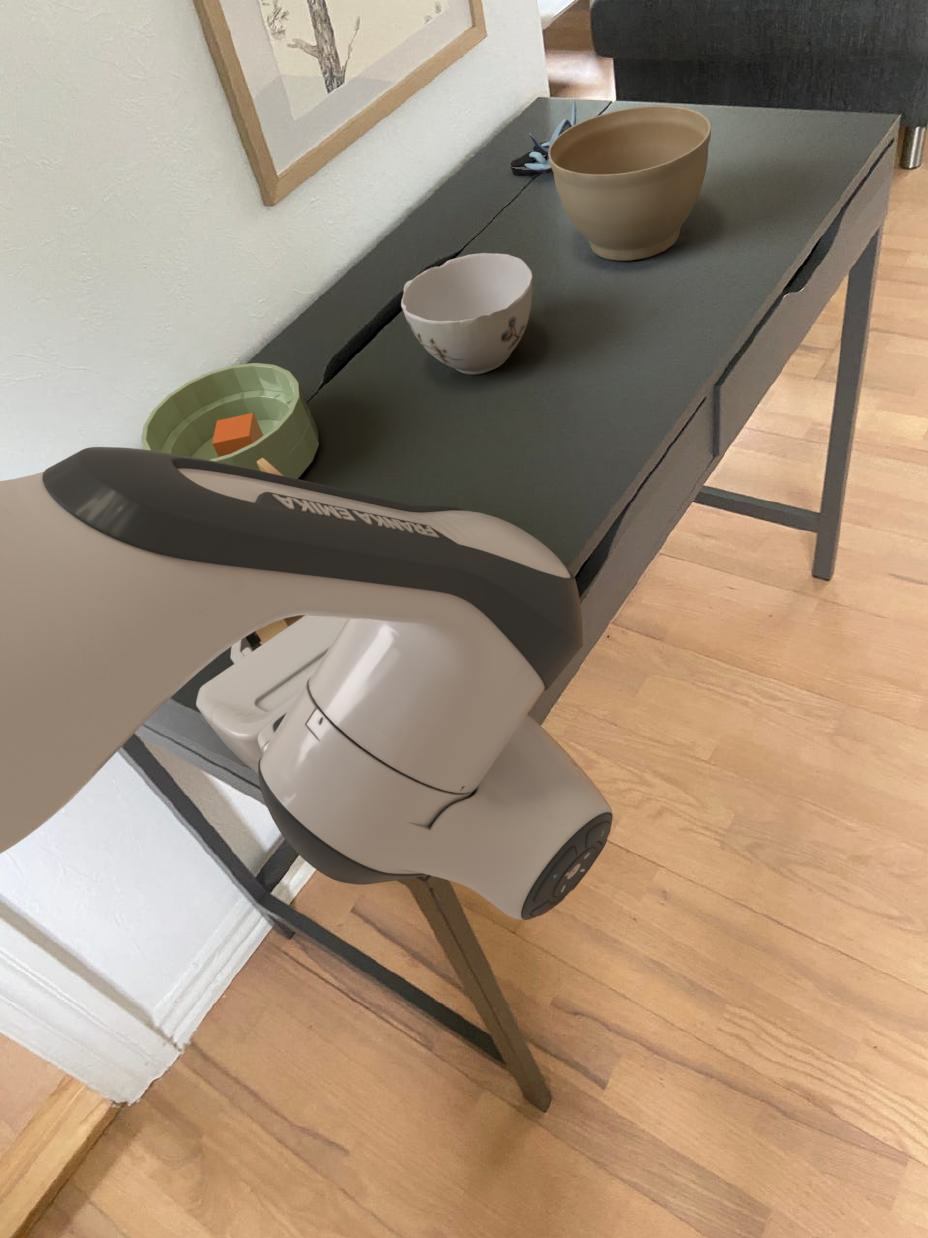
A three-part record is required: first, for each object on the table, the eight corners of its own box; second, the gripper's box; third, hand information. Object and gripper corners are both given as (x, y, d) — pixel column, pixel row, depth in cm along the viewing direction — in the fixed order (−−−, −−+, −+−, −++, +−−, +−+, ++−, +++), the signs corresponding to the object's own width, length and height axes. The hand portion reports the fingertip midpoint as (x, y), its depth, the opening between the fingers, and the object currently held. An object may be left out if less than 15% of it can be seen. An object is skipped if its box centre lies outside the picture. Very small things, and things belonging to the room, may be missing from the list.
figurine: (587, 194, 112) (567, 136, 106) (510, 194, 119) (487, 139, 113) (623, 143, 115) (605, 83, 109) (546, 146, 122) (525, 90, 116)
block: (227, 473, 86) (263, 466, 86) (211, 443, 84) (249, 435, 83) (231, 450, 89) (267, 442, 88) (216, 420, 86) (253, 412, 86)
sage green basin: (140, 502, 87) (109, 452, 83) (230, 406, 95) (206, 356, 91) (263, 528, 80) (236, 476, 76) (348, 423, 88) (329, 370, 84)
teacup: (570, 338, 90) (559, 262, 84) (488, 409, 85) (471, 334, 79) (458, 307, 98) (441, 236, 93) (378, 370, 93) (355, 299, 88)
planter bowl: (725, 261, 93) (725, 152, 85) (567, 291, 96) (553, 188, 88) (698, 192, 104) (696, 90, 96) (557, 221, 107) (543, 124, 99)
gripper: (520, 568, 57) (397, 477, 65) (242, 770, 51) (148, 640, 60) (536, 633, 61) (419, 540, 70) (282, 825, 56) (189, 697, 64)
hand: (292, 587), depth 65 cm, fingers open, 8 cm apart
